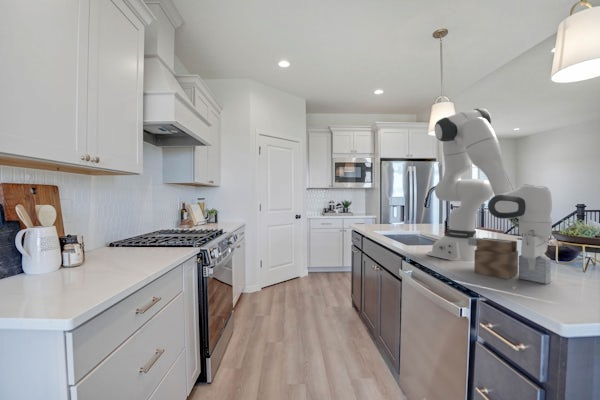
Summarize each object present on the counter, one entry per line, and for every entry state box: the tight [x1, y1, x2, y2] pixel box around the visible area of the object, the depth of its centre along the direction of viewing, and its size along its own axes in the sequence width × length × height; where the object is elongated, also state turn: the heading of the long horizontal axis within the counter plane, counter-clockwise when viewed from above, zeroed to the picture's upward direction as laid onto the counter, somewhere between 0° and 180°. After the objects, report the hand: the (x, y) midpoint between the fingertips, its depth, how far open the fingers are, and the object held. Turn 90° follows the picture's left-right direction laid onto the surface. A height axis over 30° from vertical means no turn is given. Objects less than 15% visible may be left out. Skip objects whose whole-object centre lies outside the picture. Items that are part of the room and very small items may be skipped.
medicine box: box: [518, 254, 552, 285], centre depth 96 cm, size 8×4×9 cm, turn 32°
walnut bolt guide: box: [474, 237, 519, 281], centre depth 105 cm, size 11×12×13 cm
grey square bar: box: [468, 237, 512, 246], centre depth 107 cm, size 14×3×3 cm, turn 38°
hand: (534, 267), depth 96 cm, fingers closed on medicine box, 5 cm apart
